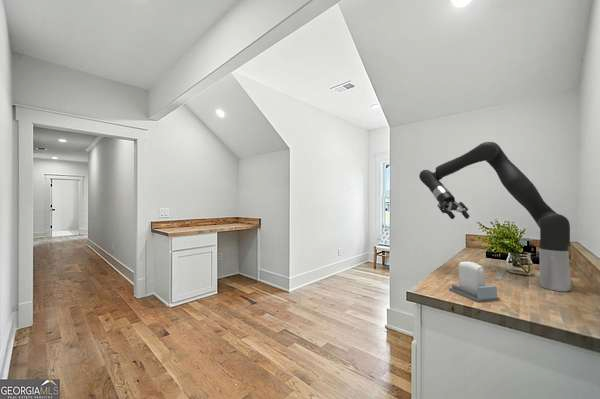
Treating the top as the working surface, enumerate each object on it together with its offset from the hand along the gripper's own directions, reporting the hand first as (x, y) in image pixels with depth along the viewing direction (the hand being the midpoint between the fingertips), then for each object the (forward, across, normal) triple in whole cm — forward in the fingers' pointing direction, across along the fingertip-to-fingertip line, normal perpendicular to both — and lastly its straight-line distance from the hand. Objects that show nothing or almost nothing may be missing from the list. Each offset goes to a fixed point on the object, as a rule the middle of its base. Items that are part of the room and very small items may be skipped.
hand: (460, 217), depth 127 cm
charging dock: (+36, -14, +8) cm, 39 cm away
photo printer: (+34, -14, +8) cm, 38 cm away
